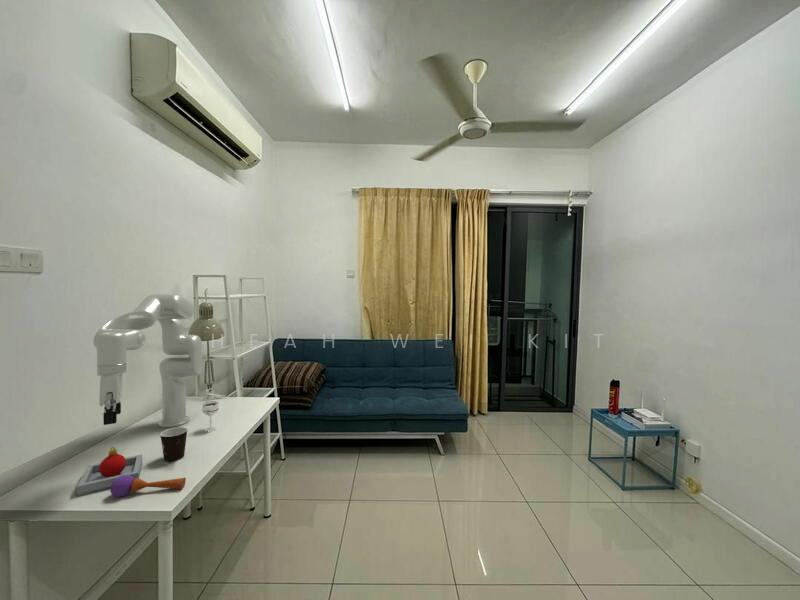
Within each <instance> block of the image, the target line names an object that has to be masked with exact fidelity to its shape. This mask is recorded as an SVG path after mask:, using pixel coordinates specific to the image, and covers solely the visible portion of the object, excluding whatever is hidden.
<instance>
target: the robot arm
mask: <svg viewBox="0 0 800 600" xmlns="http://www.w3.org/2000/svg"><path fill="white" fill-rule="evenodd" d="M194 314H195V306H194V304H193V303H192V302H191V301H190V300H189V299H187V298H185V297H184V296H182V295H178V294H175V293H174V294H173V293H172V294H169V293H166V294H165V293H160V294H158V293H157V294H156V293H155V294H150V295H147V296H146V297H145V298H144V299H143V300H142V301H141V302H140V303H139V304H138V305H137V307H135V309H133V311H129V312H127V313H124V314H122V315H120V316H117V317H113V319H110V320H108V321H107V322H105V323H104V324H103V325H102V326H101V327H100V328H99V329H98V330H97V332H96V333H95V335H94V337H93V345H94V347H95V348H96V376H98V377H100V380H99V395H98V396H99V400H98V405H99V406H100V407H104V408H103V414H102V415H103V425H105V426H107V425H114V424H117V422H118V419H117V417H118V416H117V415H120V414H121V412H122V403H121V399H122V396H123V374H125V373H126V372H127V351H135V350H138V349H141V348H142V347H143V346H144V344H145V342H146V334H145V333H144V332H143V331H141V330H145V329H148V328H150V327H152V326H154V324H156V322H158V323H159V324H160V328H161V339H162V340H161V341H162V350H163V353H164V354H165V355H168V356H172V357H167V358H163V360H161V362H160V363H159V373H160V378H161V393H162V394H161V397H162V398H161V404H162V405H161V410H162V411H161V420H159V421H158V423H157V424H158V427H160V428H176V427H179V426H183V425H185V424H186V423H188V422H190V418H191V417H190V416H188V415H187V385H186V382H185V381H184V379H183V378H191V377H193V378H194V377H198V376H200V375H201V373H202V371H203V344H202V343H203V342H202V339H201V337H200V336H199V335H196V334H185V332H184V324H183V322H182V320H188V319H189V320H190V319H191V318H192V317H193V315H194ZM185 355H186V356H185ZM187 355H188V356H187Z"/></svg>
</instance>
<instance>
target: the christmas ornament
mask: <svg viewBox="0 0 800 600" xmlns="http://www.w3.org/2000/svg"><path fill="white" fill-rule="evenodd" d="M125 458H126V457H125V456H124V455H121V454H120V453H119V454H118V451H117V449H116V448H115V446H112V447H111V448H110V450H109V451H108V456H107V457H105V458H104V459H102V461H101V462H99V463H100V466H99V472H100V474H101V475H102V476H104V477H113V476H116V475H118V474H120V473H121V472H122V471H123V470H124V468H125V466H126V459H125Z"/></svg>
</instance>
